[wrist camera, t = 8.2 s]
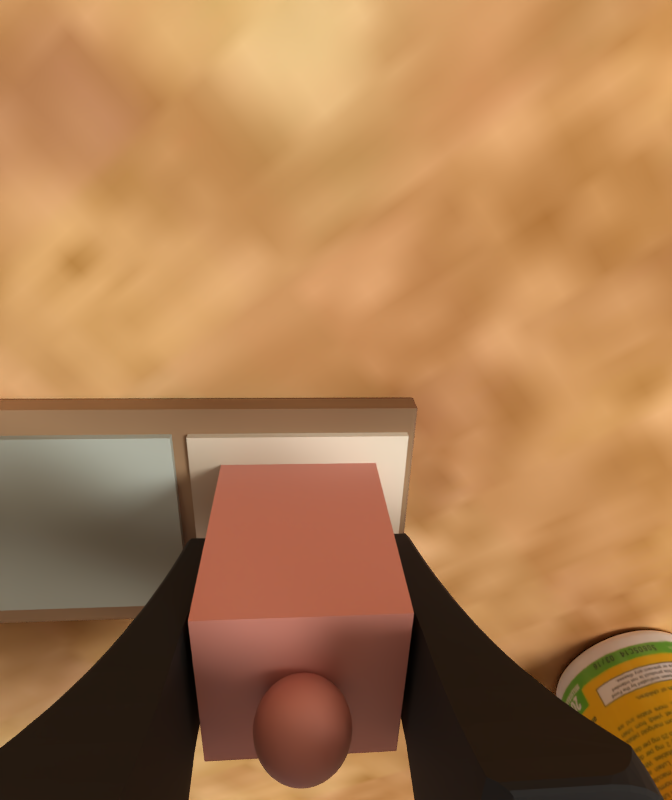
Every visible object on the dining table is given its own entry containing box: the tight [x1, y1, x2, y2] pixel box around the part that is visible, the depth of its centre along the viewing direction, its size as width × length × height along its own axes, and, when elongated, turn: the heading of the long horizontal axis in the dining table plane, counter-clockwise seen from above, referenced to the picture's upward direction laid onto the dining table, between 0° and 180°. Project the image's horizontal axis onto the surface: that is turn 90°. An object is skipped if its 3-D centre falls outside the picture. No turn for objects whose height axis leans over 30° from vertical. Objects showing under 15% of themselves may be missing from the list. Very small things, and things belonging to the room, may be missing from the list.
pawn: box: [188, 463, 414, 788], centre depth 12 cm, size 4×4×7 cm
